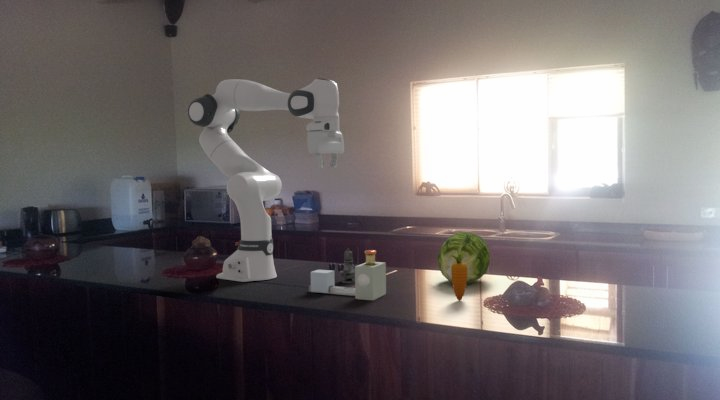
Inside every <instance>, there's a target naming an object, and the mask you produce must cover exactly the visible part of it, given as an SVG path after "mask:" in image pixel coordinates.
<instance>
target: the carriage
mask: <svg viewBox="0 0 720 400" xmlns="http://www.w3.org/2000/svg"><path fill="white" fill-rule="evenodd" d="M335 284H336V283H335V270H330V269H329V270H327V269H316V270H312V271H310V285H311V292H310V293H315V292H322V293H321V294H327V293H329V286H336V285H335Z"/></svg>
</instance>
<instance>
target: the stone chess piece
mask: <svg viewBox="0 0 720 400" xmlns="http://www.w3.org/2000/svg"><path fill="white" fill-rule="evenodd" d="M343 254H344V255H343V256H344V257H343V265H344V267H343V269H342V270H340V271H339V273H340V275H341V278H343V279H342V280H341V281H340V282H341V283H342V284H355V268H354V266H353V265H354V263H353V262H354V259H353V251H351V250H350V249H349V247H348V248H347V249H346V250H345V251H344V253H343Z"/></svg>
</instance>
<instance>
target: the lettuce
mask: <svg viewBox="0 0 720 400" xmlns="http://www.w3.org/2000/svg"><path fill="white" fill-rule="evenodd" d="M457 250H460V253H461V254H462V253H464V255H463V258H462V261H461V262H462V263H465V264H466V265H467V283H466V285H468V284H471V283H474V282H476V281H478V280H479V279H481V278H483V276H484V275H485V274H486V273H487V271H488V268H489V265H490V253H491V252H490V247H489V246H488V242H487V241H485V239H484V238H483V237H481V235H479V234H476V233H474V232H466V231H460V232H457V233H455V234H452V235H450V236H449V237H448V238H447V239H446V240H445V241H444V242H443V244H442V245H441V247H440V250H439V251H438V254H437V265H438V269H439V270H440V273H441V275H442V276H443V277H444V278H445V279H446V280H447V281H449V282H451V283H452V271H451V267H452V264H453V263H456V262H457V261H456V259H455V258H454V257H452V256H451V255H452V254H453V255H455V256H456V257H458V253H457Z"/></svg>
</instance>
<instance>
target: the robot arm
mask: <svg viewBox="0 0 720 400" xmlns="http://www.w3.org/2000/svg"><path fill="white" fill-rule="evenodd" d="M339 95H340V93H339V87H338V83H337V82H336V81H334V80H332V79H328V78H322V77H319V78H314V80H313V81H312V82H311V83H309V84H308V85H306V86H304V87H301V88H300V89H296V90H294V91H292V92H291V93H288V92H284V91H280V90H277V89H276V88H275V89H274V88H273V87H269V86H267V85H264V84H262V83H259V82H257V81H253V80H249V79H241V78H240V79H237V78H236V79H235V78H234V79H233V78H231V79H224V80H221V81H220V82H218V85H217V86H216V88H215V93H214V94H209V93H206V94H204V95H203V96H200V97H197V98H195V99H194V100H192V101H191V102H190V103H189V104H188V108H187V115H188V118H189V119H188V120H189V121H190V122H191V123H192V124H194V125H196V126H198V127H200V128H203V130H202V132H201V133H200V134H199V137H198V141H199V144H200V148H202V149H203V152H204V153H205V155H206V156H207V157H208V159H209V160H211V162H212V163H213V164H214V166H216V168H218V170H219V171H221V174H223V175H224V176H225V177H227V178H229V179H228V180H227V183H226V193H227V195H228V196H229V198H230V199H231V200H232V201H233V202H234V204H235V206H236V209H237V211H238V212H237V213H238V215H239V220H240V240H239V241H236V242H234V244H235V245H234V246H237V248H236V250H235V251H234V252H233V253H231V255H229V256H228V257H227V258H226V259H225V260H224V261H223V265H222V272H220V273H217V274H216V279H220V280H228V281H233V282H234V281H235V282H242V283H244V282H246V283H247V282H254V281H257V282H258V281H265V280H273V279H275V278H277V277H278V275H277V272H276V267H275V264H274V263H275V261H274V255H273V254H274V253H273V252H274V238H273V237H272V236H273V234H272V218H271V215H270V214H268V213H267V211H266V208H265V205H264V202H265V201H270V200H273V199H275V198H277V197H278V196H279V195H280V194H281V192H282V188H283V184H282V180H281V178H280V177H279V175H277V174H275V173H273V172H271V171H269V170H268V169H266V168H265V167H263V166H262V165H261V164H259V163H258V162H256V160H254V159H252V158H251V157H250V156H248V154H247V153H246V152H245V151H243V149H242V148H241V147H240V146H239V145H238V144H237V143H236V142H235V141H234V139H232V138H231V137H230V136H229V133H231V132H233V130H234V127H236V125H237V124H238V122H239V119H240V116H241V115H240V114H241V112H240V111H244V112H262V111H263V112H264V111H278V110H281V111H289V113H290V114H291V115H292V116H294V117H296V118H301V119H308V120H312V121H311V122H310V123H309V122H308V123H307V124H306V125H305V126H306V128H305V129H306V131H307V133H306V135H307V136H306V143H307V144H306V145H307V146H306V147H307V151H308V153H309V154H314V158H315V161H316V166H317V168H324V165H325V163H324V162H325V161H323V154H324V155H327V154H328V155H330V157H331V161H330V162H329V166H330V168H337V166H338V165H337V164H338V163H337V162H338V159H339V155H343V154H344V152H345V141H344V135H343V133H342V131H341V130H340V115H339V114H340V113H339V107H340V96H339Z"/></svg>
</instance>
